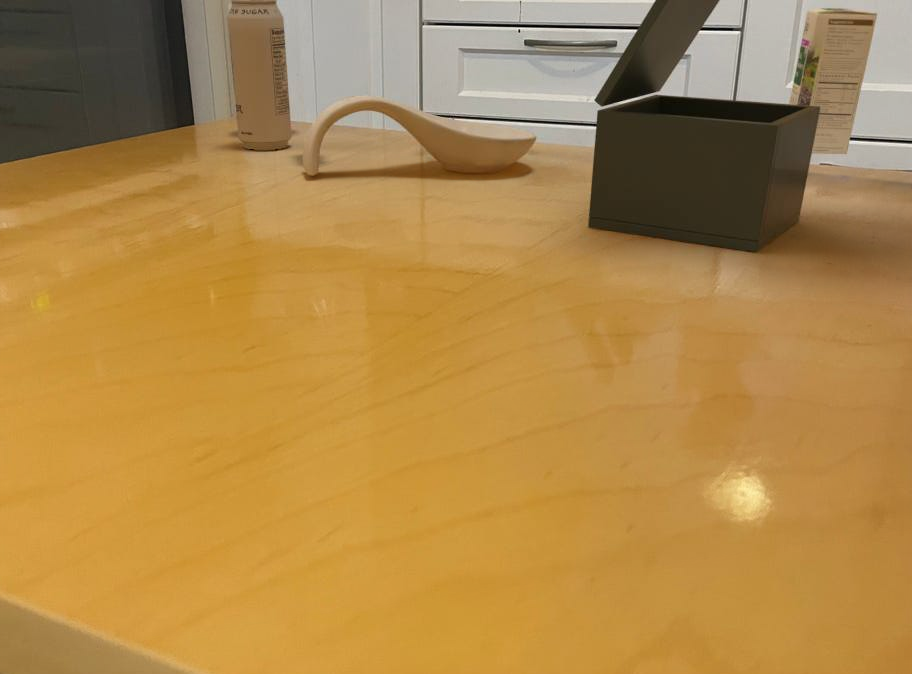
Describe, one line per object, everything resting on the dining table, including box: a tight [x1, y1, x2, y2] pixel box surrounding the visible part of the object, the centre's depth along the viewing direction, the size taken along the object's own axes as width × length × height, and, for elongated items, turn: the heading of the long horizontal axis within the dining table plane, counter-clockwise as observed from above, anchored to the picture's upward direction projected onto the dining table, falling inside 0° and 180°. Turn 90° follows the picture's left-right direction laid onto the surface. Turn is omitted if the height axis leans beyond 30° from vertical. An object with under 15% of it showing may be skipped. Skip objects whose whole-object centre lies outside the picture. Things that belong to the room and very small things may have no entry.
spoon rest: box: [302, 94, 537, 176], centre depth 94 cm, size 24×12×7 cm, turn 104°
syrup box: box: [788, 7, 878, 155], centre depth 96 cm, size 6×6×14 cm
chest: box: [587, 94, 820, 253], centre depth 74 cm, size 14×12×9 cm
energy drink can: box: [226, 0, 292, 151], centre depth 105 cm, size 6×6×15 cm
